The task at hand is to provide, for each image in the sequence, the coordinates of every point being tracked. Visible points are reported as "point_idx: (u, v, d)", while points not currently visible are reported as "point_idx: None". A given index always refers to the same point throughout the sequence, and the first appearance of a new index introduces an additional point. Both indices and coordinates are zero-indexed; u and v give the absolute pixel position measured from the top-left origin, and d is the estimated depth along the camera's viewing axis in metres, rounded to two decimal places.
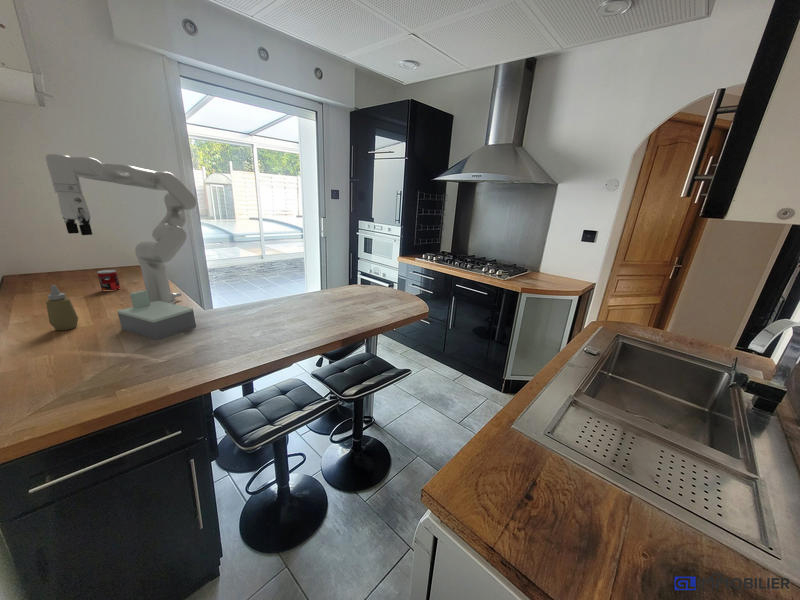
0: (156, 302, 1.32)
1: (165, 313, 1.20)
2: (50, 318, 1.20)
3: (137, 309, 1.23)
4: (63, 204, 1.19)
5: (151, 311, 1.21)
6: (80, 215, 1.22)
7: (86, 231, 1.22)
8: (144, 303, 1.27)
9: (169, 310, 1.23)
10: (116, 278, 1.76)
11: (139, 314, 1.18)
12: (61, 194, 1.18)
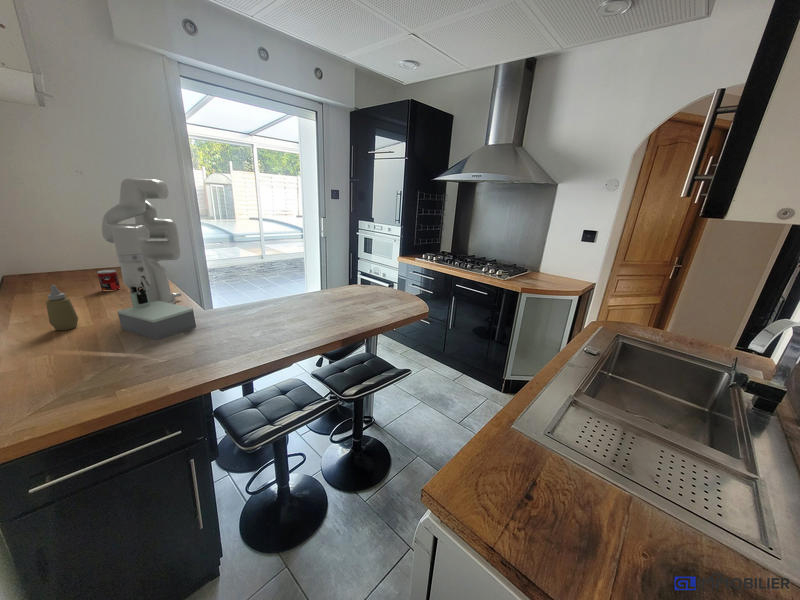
0: (156, 302, 1.32)
1: (165, 313, 1.20)
2: (50, 318, 1.20)
3: (137, 309, 1.23)
4: (126, 273, 1.21)
5: (151, 311, 1.21)
6: None
7: (143, 300, 1.25)
8: (144, 303, 1.27)
9: (169, 310, 1.23)
10: (116, 278, 1.76)
11: (139, 314, 1.18)
12: (125, 264, 1.19)
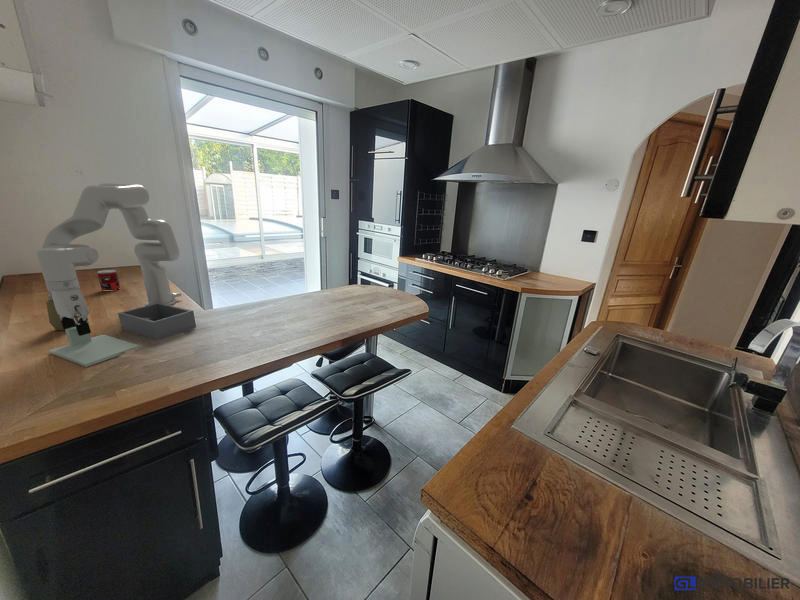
0: (100, 337, 1.16)
1: (103, 353, 1.04)
2: (50, 318, 1.20)
3: (73, 348, 1.07)
4: (57, 302, 1.04)
5: (88, 350, 1.05)
6: (77, 313, 1.06)
7: (84, 331, 1.07)
8: (83, 339, 1.11)
9: (110, 349, 1.07)
10: (116, 278, 1.76)
11: (72, 355, 1.02)
12: (55, 292, 1.02)
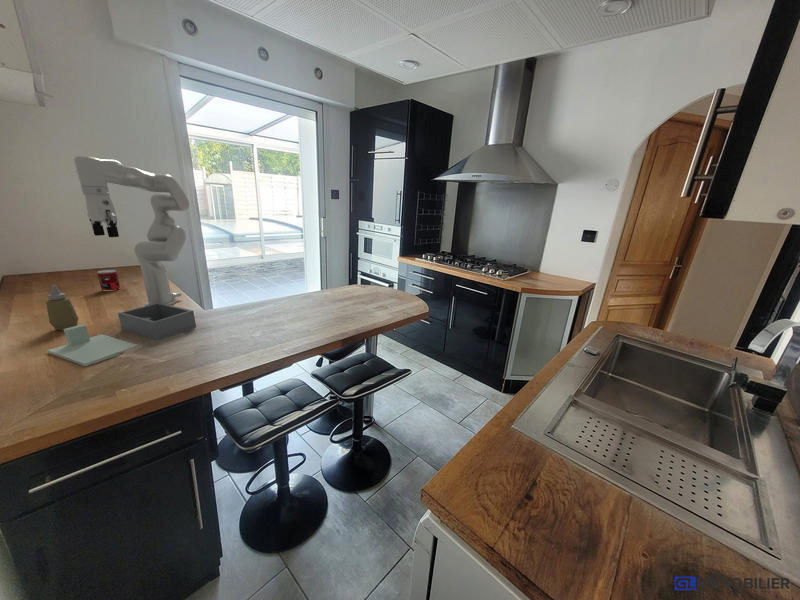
0: (98, 337, 1.16)
1: (102, 353, 1.04)
2: (50, 318, 1.20)
3: (72, 347, 1.07)
4: (91, 206, 1.19)
5: (87, 350, 1.06)
6: (107, 217, 1.22)
7: (113, 233, 1.22)
8: (82, 339, 1.11)
9: (109, 348, 1.07)
10: (116, 278, 1.76)
11: (71, 355, 1.02)
12: (89, 196, 1.18)
